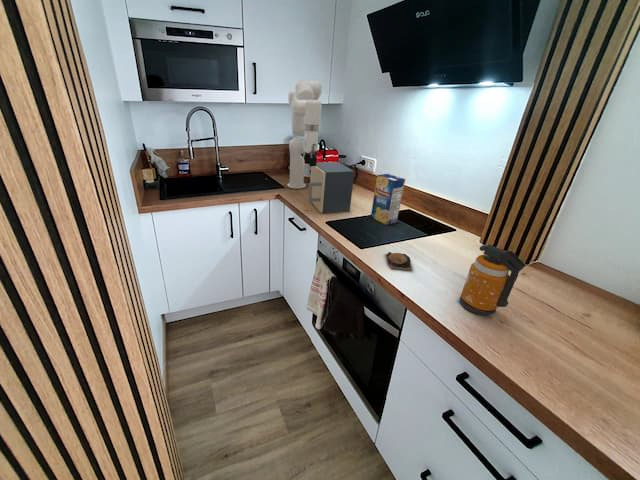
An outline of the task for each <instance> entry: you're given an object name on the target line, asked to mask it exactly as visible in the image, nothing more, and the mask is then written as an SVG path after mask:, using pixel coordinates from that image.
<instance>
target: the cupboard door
mask: <svg viewBox="0 0 640 480" xmlns="http://www.w3.org/2000/svg"><path fill="white" fill-rule="evenodd" d="M325 175H326V173H325V172H324V171H323V170H321V169H320V168H319V167H318V166H310V177H309V179H310V180H309V183H308V198H307V200H308V202H309V203H312V204H313V206H314V207H315V208H316V209H317V210H318V212H319V213H320V214H324V213H323V201H324V188H325Z"/></svg>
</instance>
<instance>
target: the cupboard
mask: <svg viewBox="0 0 640 480" xmlns="http://www.w3.org/2000/svg"><path fill="white" fill-rule="evenodd" d="M316 166H318V167H319V168H320V169H321V170H323V171H324V172H325V173H326V175H325V188H324V201H323V213H322V214H334V213H349V212H350V211H351V203H352V195H353V189H354V179H355V170H354V169H352V168H350V167H349V166H347V165H345V164H343V163H342V162H339V161H325V162H323V161H322V162H316Z"/></svg>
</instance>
